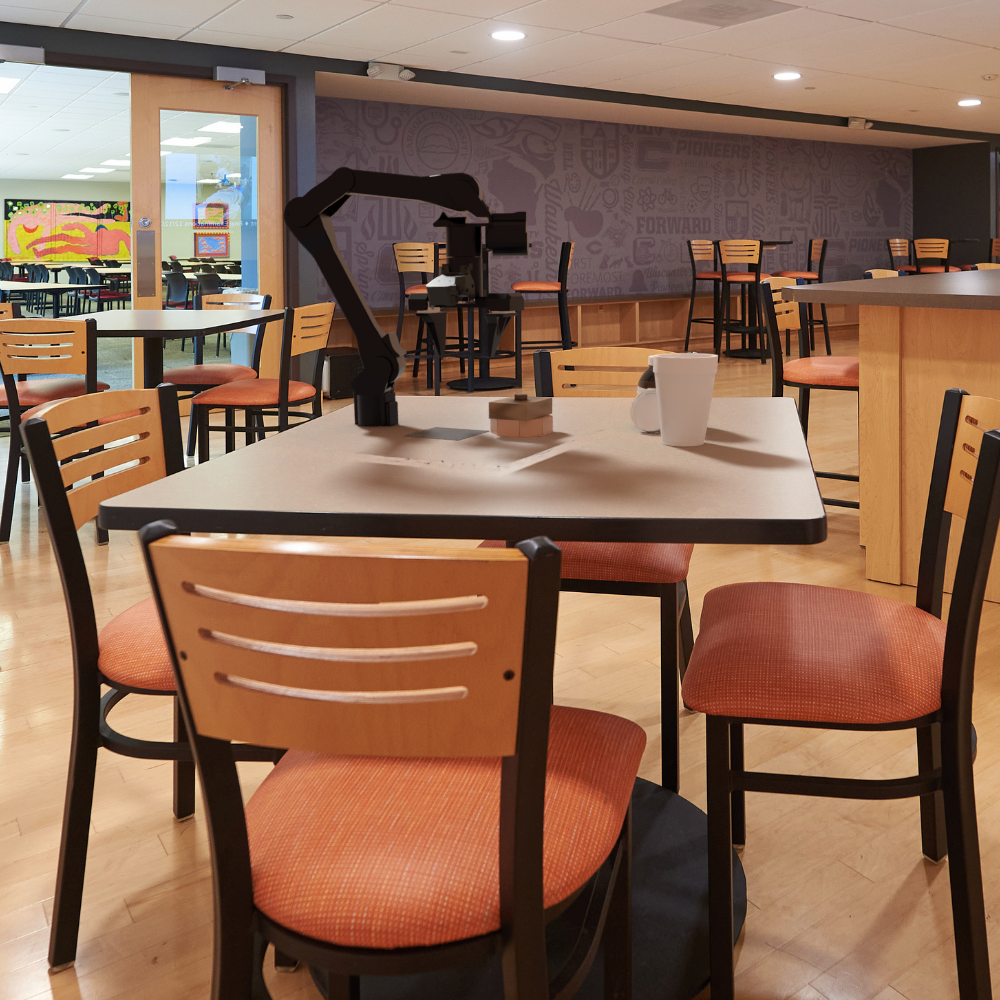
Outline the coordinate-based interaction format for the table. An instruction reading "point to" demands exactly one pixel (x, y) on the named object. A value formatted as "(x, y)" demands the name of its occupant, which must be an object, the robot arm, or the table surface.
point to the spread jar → (646, 402)
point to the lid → (520, 408)
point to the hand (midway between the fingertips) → (465, 356)
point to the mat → (446, 433)
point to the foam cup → (684, 396)
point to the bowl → (522, 427)
